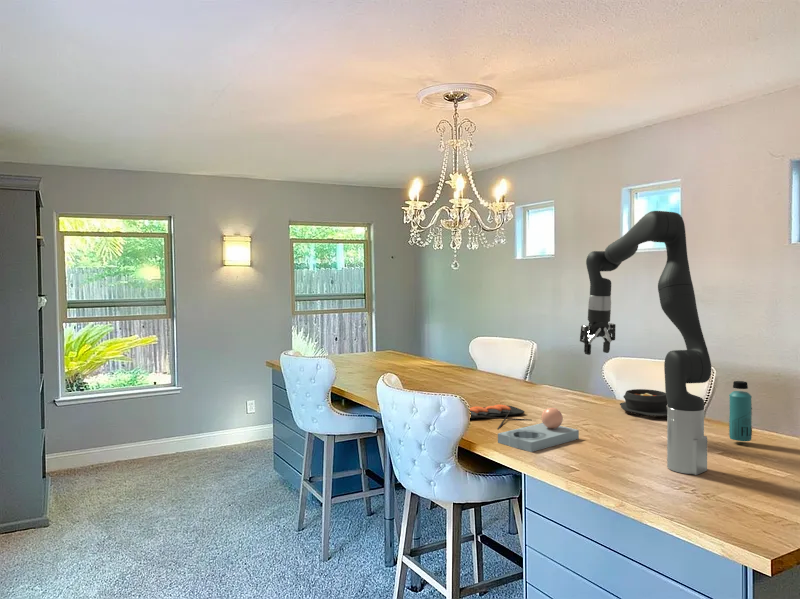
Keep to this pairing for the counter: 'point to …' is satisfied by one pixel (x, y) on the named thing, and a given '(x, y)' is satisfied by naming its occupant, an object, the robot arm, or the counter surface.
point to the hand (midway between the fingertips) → (596, 353)
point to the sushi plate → (495, 412)
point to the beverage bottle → (740, 413)
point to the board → (537, 437)
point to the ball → (552, 418)
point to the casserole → (645, 402)
